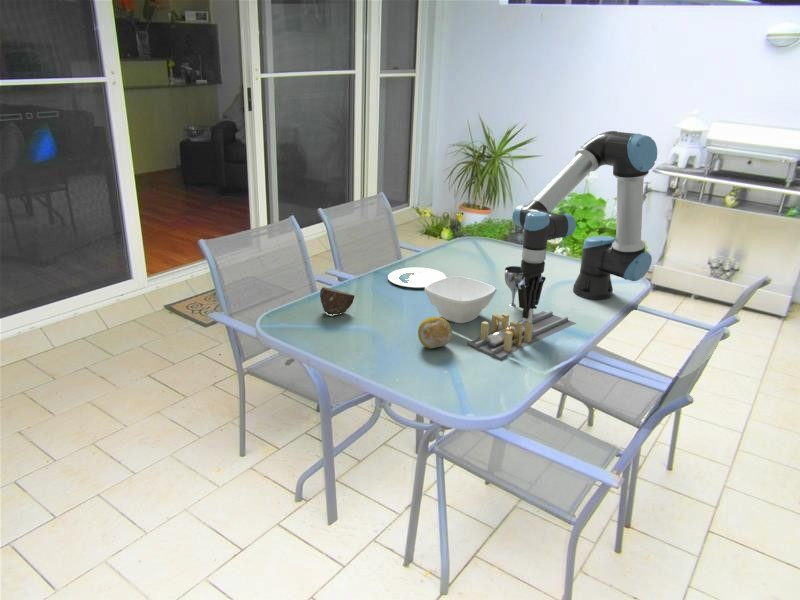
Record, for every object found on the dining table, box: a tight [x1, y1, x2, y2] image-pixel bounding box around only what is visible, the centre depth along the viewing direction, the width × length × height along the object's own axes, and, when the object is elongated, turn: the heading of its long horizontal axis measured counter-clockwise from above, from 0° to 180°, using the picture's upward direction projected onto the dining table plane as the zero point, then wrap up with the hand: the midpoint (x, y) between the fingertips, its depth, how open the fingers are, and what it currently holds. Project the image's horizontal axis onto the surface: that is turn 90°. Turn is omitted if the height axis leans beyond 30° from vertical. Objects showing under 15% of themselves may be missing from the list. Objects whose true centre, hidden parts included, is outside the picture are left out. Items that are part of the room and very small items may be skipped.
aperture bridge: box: [490, 313, 523, 347], centre depth 196 cm, size 2×12×7 cm, turn 41°
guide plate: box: [466, 310, 576, 361], centre depth 202 cm, size 41×14×7 cm, turn 131°
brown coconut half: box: [319, 286, 355, 315], centre depth 216 cm, size 12×10×10 cm
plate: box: [387, 267, 448, 289], centre depth 253 cm, size 25×25×2 cm
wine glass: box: [504, 265, 523, 307], centre depth 224 cm, size 8×8×15 cm
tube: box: [486, 321, 528, 348], centre depth 198 cm, size 18×4×4 cm, turn 131°
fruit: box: [417, 316, 453, 349], centre depth 192 cm, size 10×11×10 cm
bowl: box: [423, 275, 497, 324], centre depth 214 cm, size 22×22×12 cm
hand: (526, 325), depth 203 cm, fingers closed
